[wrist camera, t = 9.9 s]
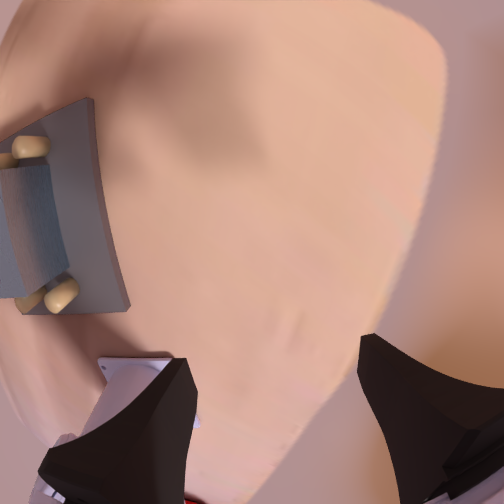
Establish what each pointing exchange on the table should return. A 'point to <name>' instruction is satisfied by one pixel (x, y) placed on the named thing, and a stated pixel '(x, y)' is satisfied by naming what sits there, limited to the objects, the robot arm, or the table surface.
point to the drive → (28, 231)
